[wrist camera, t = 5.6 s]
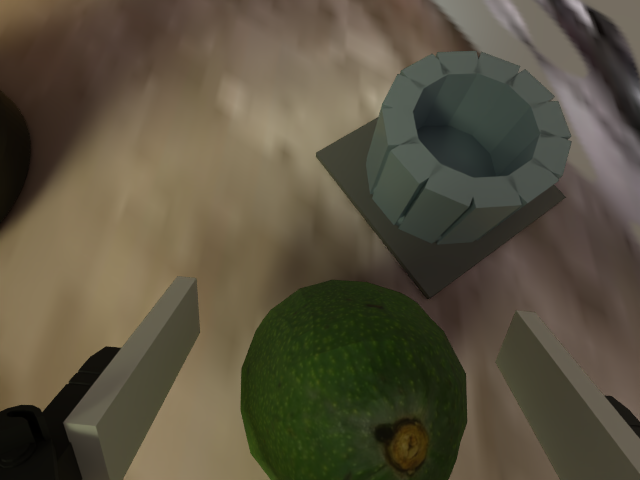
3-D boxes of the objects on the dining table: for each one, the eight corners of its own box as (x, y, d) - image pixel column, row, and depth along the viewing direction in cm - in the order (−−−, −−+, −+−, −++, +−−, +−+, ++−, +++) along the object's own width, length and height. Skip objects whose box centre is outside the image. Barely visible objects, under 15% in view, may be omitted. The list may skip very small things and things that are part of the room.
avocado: (269, 483, 17) (192, 731, 5) (251, 315, 19) (172, 240, 8) (433, 449, 17) (671, 602, 6) (395, 291, 20) (511, 191, 9)
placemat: (316, 156, 23) (316, 152, 22) (445, 82, 25) (447, 77, 25) (428, 299, 20) (430, 297, 19) (561, 199, 22) (566, 197, 22)
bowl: (338, 156, 22) (346, 99, 17) (446, 93, 24) (479, 27, 19) (432, 273, 20) (471, 244, 15) (542, 192, 22) (607, 145, 17)
